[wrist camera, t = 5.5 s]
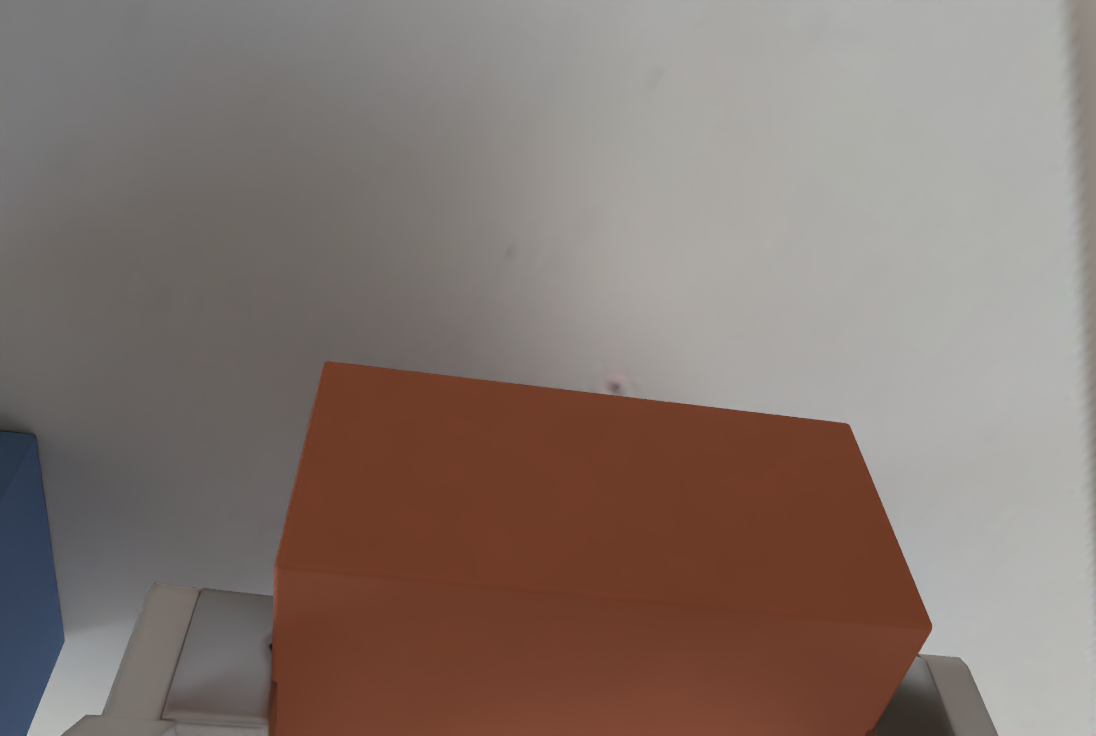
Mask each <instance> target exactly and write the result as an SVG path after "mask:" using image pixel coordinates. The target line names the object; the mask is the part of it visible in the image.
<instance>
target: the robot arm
mask: <svg viewBox="0 0 1096 736" xmlns="http://www.w3.org/2000/svg"><path fill="white" fill-rule="evenodd" d="M272 632H273V596H267V595H259V594H250V593H242V592H233V591H224V590H216V589H207V588H196V587H186V586H177V585H167V584H158V583H154V585H153V586H152V587H151V589H150V590H149V592H148V593H147V594H146V596H145V598H144V601H143V604H142V607H141V609H140V612H139V615H138V617H137V620H136V623H135V626H134V628H133V631H132V634H131V636H130V639H129V642H128V645H127V647H126V650H125V653H124V655H123V658H122V661H121V663H120V666H119V669H118V672H117V674H116V677H115V680H114V682H113V685H112V688H111V691H110V693H109V696H108V699H107V701H106V704H105V707H104V709H103V712H102V715H85V716H84V717H83V718H82V719H80V720H79V721H78V722H77V723H76V724H74V725H73V726H72V727H71V728H69V729H68V730H67V731H66V732H64V733H63V734H62V735H61V736H274V734H275V729H276V724H277V682H275V681H273V680H272V678H271V669H272ZM865 736H998V734H997V731H996V729H995V727H994V725H993V722H992V720H991V718H990V715H989V713H988V711H987V709H986V706H985V704H984V702H983V700H982V697H981V695H980V693H979V691H978V688H977V686H976V684H975V681H974V679H973V677H972V675H971V672H970V670H969V668H968V666H967V665H966V664H965V663H964V662H963V661H962V660H961V659H960V658H958V657H947V656H936V655H925V654H917V656H916V658H915V659H914V661H913V663H912V665H911V666H910V668H909V670H908V671H907V673H906V675H905V676H904V678H903V680H902V682H901V683H900V685H899V687H898V688H897V690H896V692H895V693H894V695H893V697H892V699H891V700H890V702H889V704H888V705H887V707H886V709H885V710H884V712H883V714H882V716H881V717H880V719H879V721H878V722H877V724H876V726H875V727H874V729H873V730H868V731H867V733H866V734H865Z"/></svg>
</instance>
